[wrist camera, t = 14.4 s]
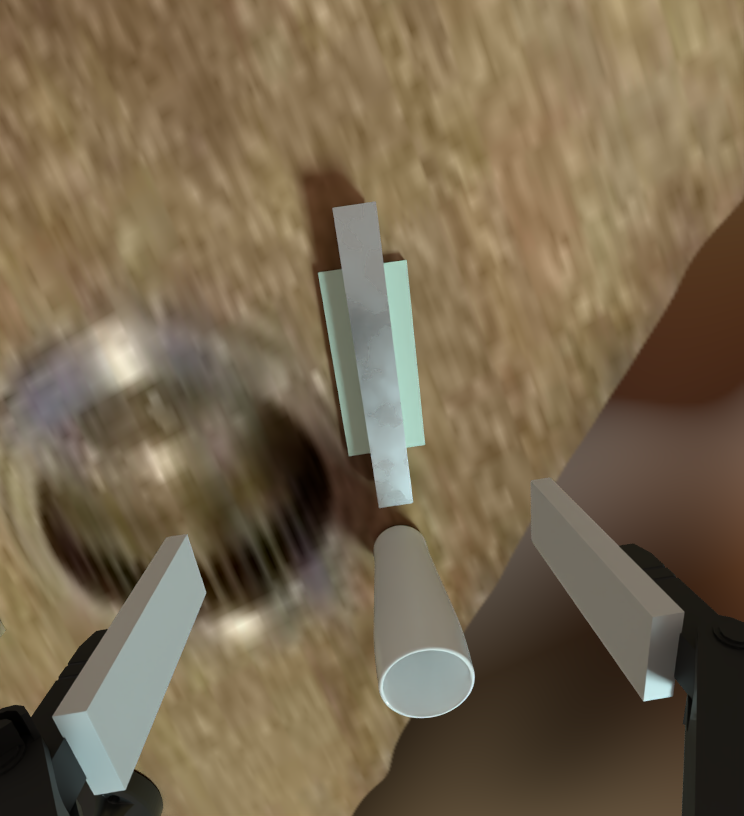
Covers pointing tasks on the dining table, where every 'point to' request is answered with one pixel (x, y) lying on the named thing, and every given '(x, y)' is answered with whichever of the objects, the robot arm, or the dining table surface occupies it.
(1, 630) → the hook stands
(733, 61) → the dining table surface
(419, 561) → the drinking glass
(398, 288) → the sage board
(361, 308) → the steel rail
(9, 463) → the dining table surface
